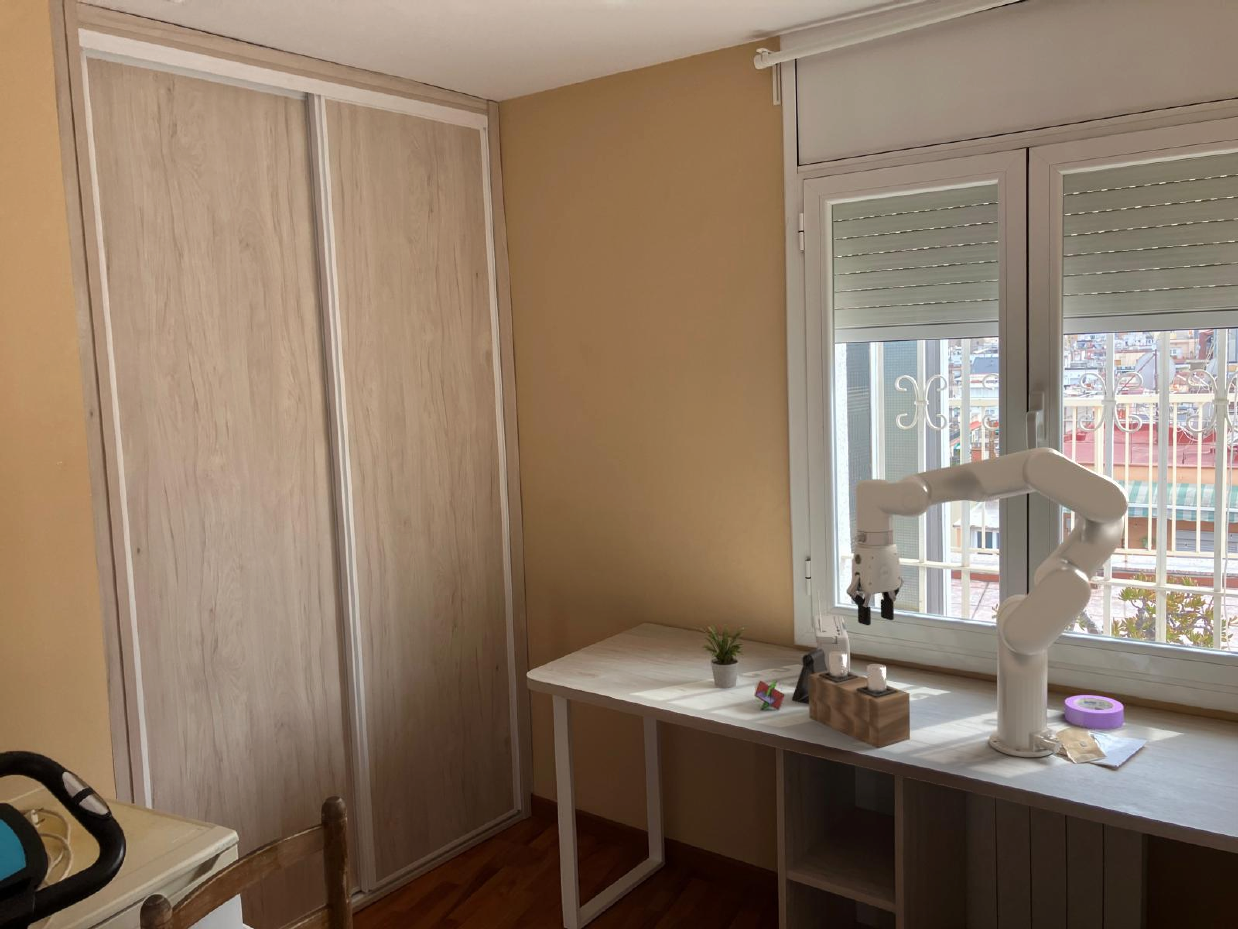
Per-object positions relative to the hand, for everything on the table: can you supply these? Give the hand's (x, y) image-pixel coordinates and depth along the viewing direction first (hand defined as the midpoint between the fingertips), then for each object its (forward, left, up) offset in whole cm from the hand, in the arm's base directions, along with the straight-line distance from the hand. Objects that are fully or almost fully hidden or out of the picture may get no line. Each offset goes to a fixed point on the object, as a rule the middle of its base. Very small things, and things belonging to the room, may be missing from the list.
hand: (875, 620), depth 211 cm
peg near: (0, 0, -19) cm, 19 cm away
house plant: (+47, +8, -26) cm, 54 cm away
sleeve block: (+6, 0, -26) cm, 26 cm away
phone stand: (+25, -4, -26) cm, 36 cm away
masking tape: (-20, -45, -26) cm, 56 cm away
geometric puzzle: (+27, +8, -26) cm, 38 cm away
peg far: (+12, 0, -19) cm, 23 cm away
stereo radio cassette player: (+37, -20, -26) cm, 49 cm away
